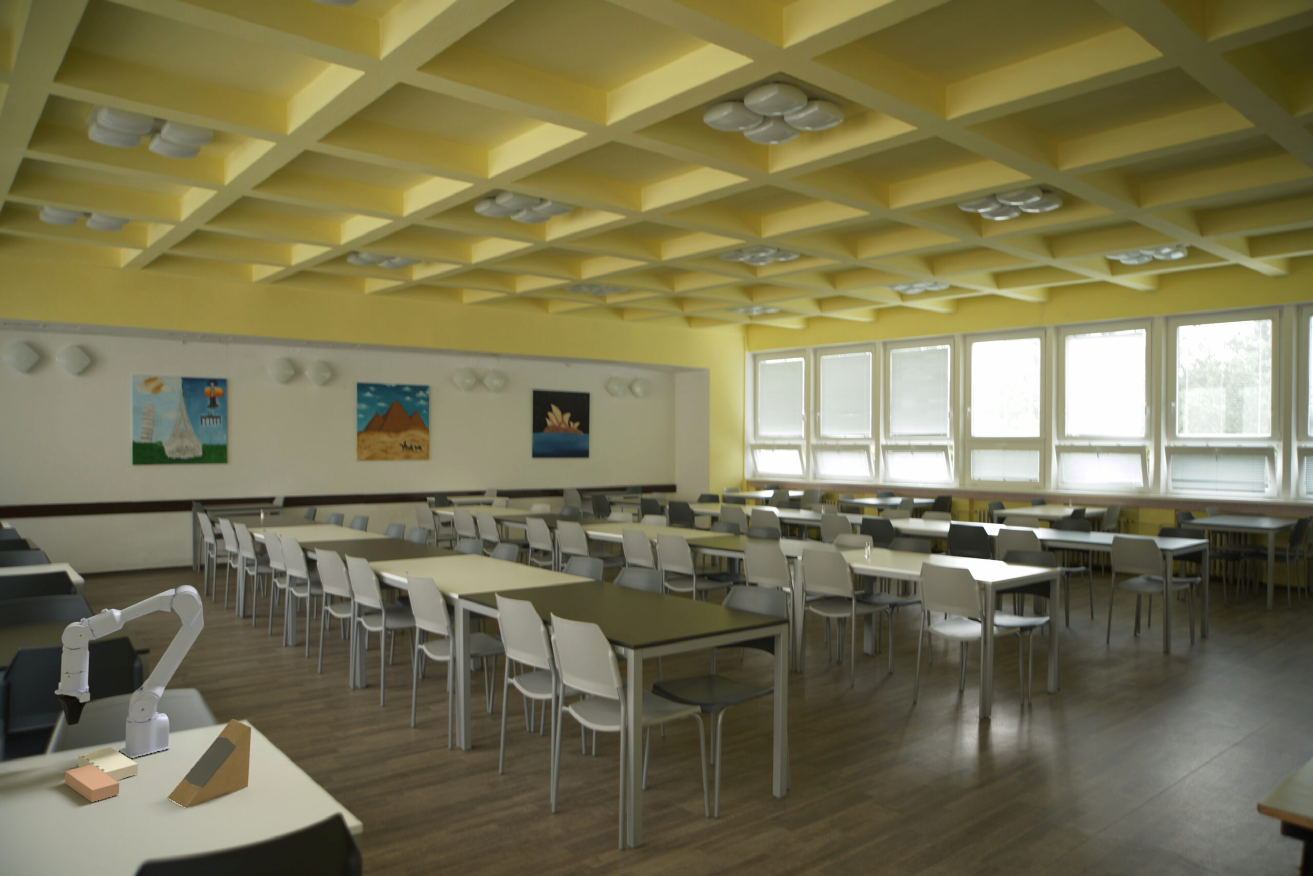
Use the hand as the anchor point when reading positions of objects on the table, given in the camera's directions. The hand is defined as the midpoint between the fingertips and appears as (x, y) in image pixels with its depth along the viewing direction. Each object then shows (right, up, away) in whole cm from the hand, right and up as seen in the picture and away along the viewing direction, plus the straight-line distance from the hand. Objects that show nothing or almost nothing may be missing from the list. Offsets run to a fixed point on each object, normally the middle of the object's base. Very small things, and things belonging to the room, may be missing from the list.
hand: (72, 724), depth 214 cm
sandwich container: (+42, -12, -14) cm, 46 cm away
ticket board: (+12, -10, -5) cm, 16 cm away
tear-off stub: (+15, -10, -15) cm, 24 cm away
